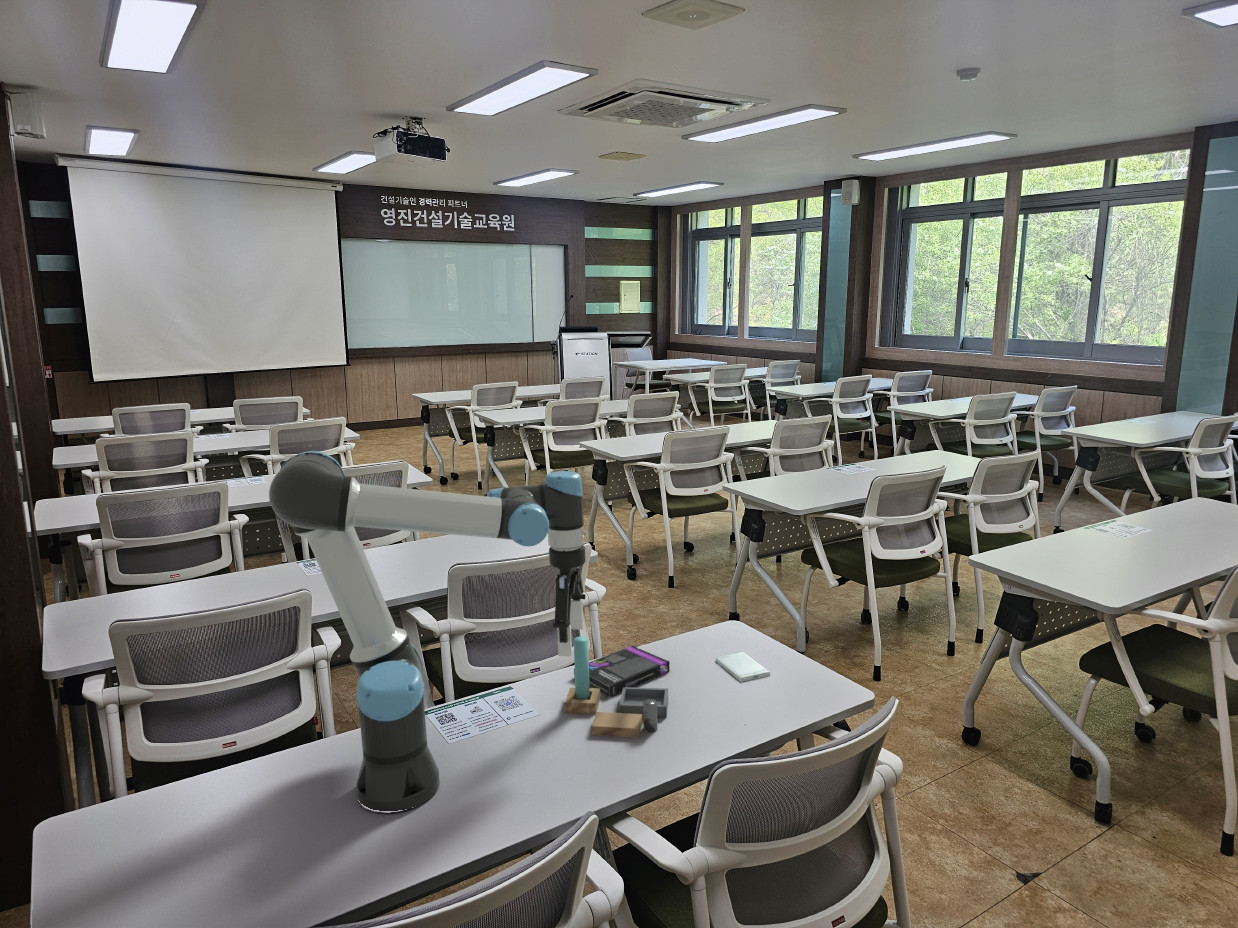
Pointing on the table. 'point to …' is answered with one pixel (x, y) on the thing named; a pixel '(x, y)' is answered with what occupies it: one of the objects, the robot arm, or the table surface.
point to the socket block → (582, 702)
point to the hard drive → (742, 666)
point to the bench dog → (650, 715)
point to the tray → (635, 697)
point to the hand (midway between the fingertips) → (571, 641)
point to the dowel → (581, 668)
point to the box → (625, 670)
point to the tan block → (617, 724)
